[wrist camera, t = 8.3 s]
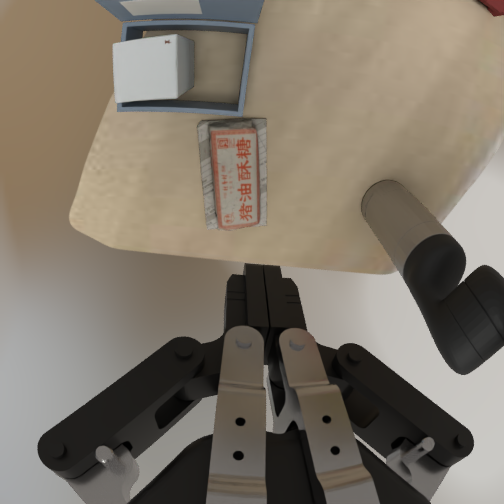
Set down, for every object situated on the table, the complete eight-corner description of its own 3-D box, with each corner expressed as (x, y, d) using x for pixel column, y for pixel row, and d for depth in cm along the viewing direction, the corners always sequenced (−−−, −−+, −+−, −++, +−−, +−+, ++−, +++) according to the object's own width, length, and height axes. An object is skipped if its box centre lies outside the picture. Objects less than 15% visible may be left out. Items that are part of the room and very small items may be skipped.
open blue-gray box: (252, 30, 34) (255, 24, 29) (241, 108, 41) (242, 116, 35) (139, 27, 33) (122, 22, 27) (133, 103, 39) (117, 111, 34)
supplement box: (144, 44, 34) (111, 41, 24) (195, 40, 35) (179, 32, 24) (144, 92, 39) (113, 104, 28) (194, 88, 39) (178, 98, 29)
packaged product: (193, 126, 38) (268, 123, 38) (197, 120, 42) (265, 116, 42) (204, 240, 48) (268, 238, 49) (207, 225, 52) (266, 222, 53)
